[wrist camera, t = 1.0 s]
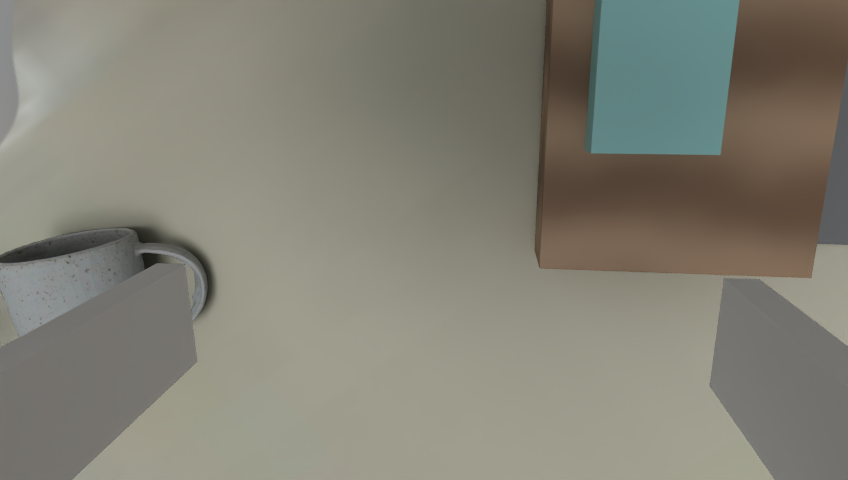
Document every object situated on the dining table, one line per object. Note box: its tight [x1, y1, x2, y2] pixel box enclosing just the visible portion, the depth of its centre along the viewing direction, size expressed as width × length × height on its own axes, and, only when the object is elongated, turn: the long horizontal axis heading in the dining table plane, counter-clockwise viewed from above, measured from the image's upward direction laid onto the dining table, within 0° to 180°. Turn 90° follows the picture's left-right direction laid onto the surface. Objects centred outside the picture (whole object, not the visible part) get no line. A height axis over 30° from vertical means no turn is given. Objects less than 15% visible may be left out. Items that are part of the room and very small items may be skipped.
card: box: [585, 0, 739, 155], centre depth 28 cm, size 9×6×2 cm, turn 0°
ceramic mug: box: [0, 228, 208, 338], centre depth 36 cm, size 11×8×8 cm
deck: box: [535, 0, 848, 278], centre depth 30 cm, size 22×14×4 cm, turn 0°
